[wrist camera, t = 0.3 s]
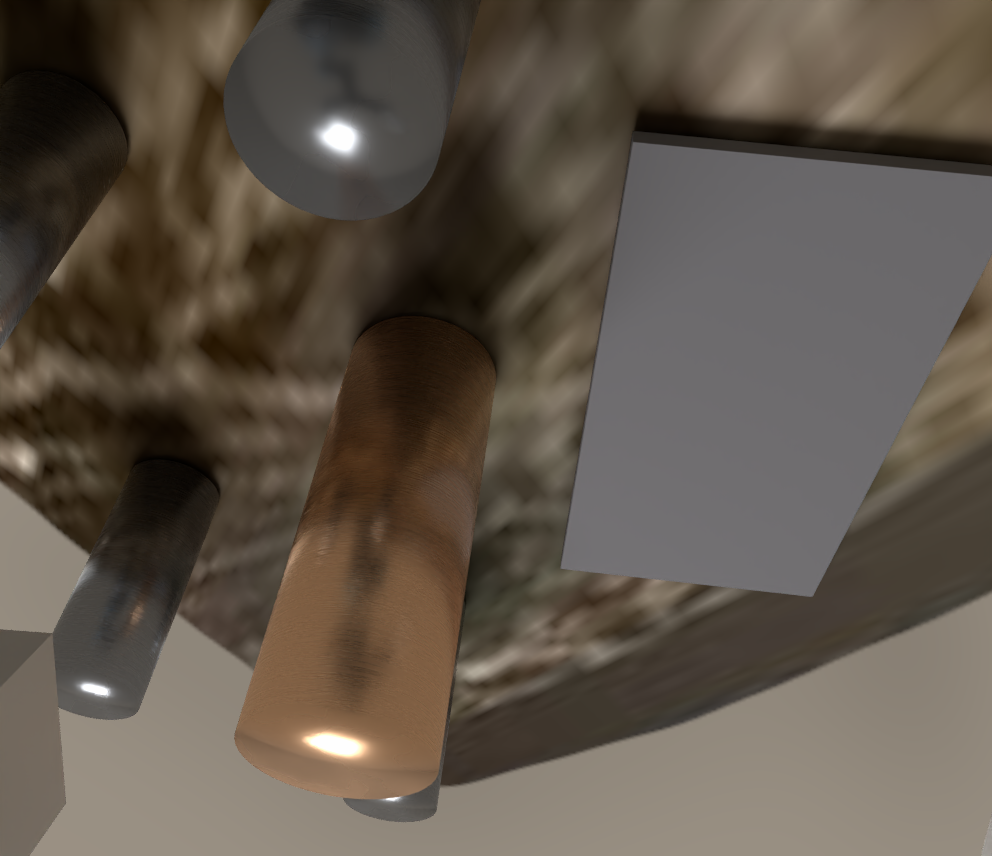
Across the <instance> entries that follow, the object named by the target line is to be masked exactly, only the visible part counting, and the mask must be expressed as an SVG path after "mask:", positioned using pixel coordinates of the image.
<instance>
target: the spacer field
mask: <svg viewBox="0 0 992 856" xmlns="http://www.w3.org/2000/svg"><path fill="white" fill-rule="evenodd" d="M480 2H481V0H272V1H271V3H270V4H269V6H268V7H267V9H266V10H265V12H264V14H263V15H262V17H261V18H260V20H259V22H258V23H257V25H256V26H255V28H254V30H253V31H252V33H251V34H250V36H249V37H248V39H247V41H246V42H245V44H244V45H243V47H242V49H241V50H240V52H239V53H238V55H237V57H236V58H235V60H234V62H233V64H232V66H231V68H230V71H229V73H228V76H227V79H226V84H225V90H224V112H225V119H226V123H227V128H228V131H229V134H230V137H231V139H232V142H233V144H234V146H235V148H236V150H237V152H238V154H239V156H240V157H241V158H242V160H243V161H244V163H245V164H246V166H247V167H248V168H249V170H250V171H251V172H252V173H253V174H254V176H255V177H256V178H257V179H258V180H259V181H260V182H261V183H262V184H263V185H264V186H265V187H267V188H268V189H269V190H270V191H272V192H273V193H274V194H276V195H277V196H278V197H280V198H281V199H283V200H285V201H286V202H288V203H289V204H291V205H293V206H295V207H297V208H299V209H301V210H304V211H307V212H309V213H312V214H315V215H318V216H322V217H326V218H332V219H338V220H366V219H371V218H377V217H380V216H383V215H386V214H390V213H392V212H394V211H396V210H398V209H400V208H402V207H403V206H405V205H406V204H408V203H409V202H411V201H412V200H413V199H414V198H415V197H416V196H417V195H418V194H419V193H420V192H421V191H422V190H423V188H424V187H425V186H426V185H427V183H428V181H429V180H430V178H431V176H432V175H433V172H434V170H435V167H436V165H437V162H438V158H439V155H440V151H441V147H442V143H443V140H444V136H445V132H446V128H447V125H448V121H449V117H450V114H451V110H452V106H453V102H454V99H455V95H456V91H457V87H458V84H459V80H460V76H461V73H462V69H463V65H464V61H465V58H466V54H467V50H468V46H469V43H470V39H471V35H472V32H473V28H474V24H475V20H476V17H477V13H478V9H479V5H480ZM127 154H128V150H127V141H126V137H125V134H124V131H123V129H122V127H121V124H120V122H119V121H118V119H117V117H116V116H115V114H114V113H113V112H112V110H111V109H110V108H109V107H108V105H107V104H106V103H105V102H104V101H103V100H102V99H101V98H100V97H99V96H98V95H96V94H95V93H94V92H93V91H91V90H90V89H89V88H87V87H86V86H84V85H83V84H81V83H79V82H77V81H75V80H73V79H71V78H69V77H67V76H64V75H61V74H58V73H54V72H49V71H37V70H35V71H27V72H23V73H20V74H17V75H15V76H13V77H12V78H10V79H9V80H8V81H7V82H6V83H5V84H4V85H3V86H2V87H1V88H0V349H1V347H2V346H3V344H4V343H5V341H6V340H7V339H8V337H9V336H10V334H11V333H12V331H13V330H14V328H15V327H16V325H17V324H18V323H19V321H20V320H21V318H22V317H23V315H24V314H25V312H26V311H27V309H28V308H29V307H30V305H31V304H32V302H33V301H34V299H35V298H36V296H37V295H38V293H39V292H40V290H41V289H42V288H43V286H44V285H45V283H46V282H47V280H48V279H49V277H50V276H51V274H52V273H53V272H54V270H55V269H56V267H57V266H58V264H59V263H60V261H61V260H62V258H63V257H64V255H65V254H66V253H67V251H68V250H69V248H70V247H71V245H72V244H73V242H74V241H75V239H76V238H77V237H78V235H79V234H80V232H81V231H82V229H83V228H84V226H85V225H86V223H87V222H88V221H89V219H90V218H91V216H92V215H93V213H94V212H95V210H96V209H97V207H98V206H99V204H100V203H101V202H102V200H103V199H104V197H105V196H106V194H107V193H108V191H109V190H110V188H111V187H112V186H113V184H114V183H115V181H116V180H117V178H118V177H119V175H120V174H121V172H122V171H123V169H124V167H125V164H126V161H127ZM218 503H219V494H218V491H217V489H216V487H215V486H214V484H213V483H212V482H211V481H210V480H209V479H208V478H207V477H206V476H205V475H203V474H202V473H201V472H199V471H197V470H196V469H194V468H192V467H190V466H187V465H185V464H182V463H179V462H175V461H170V460H162V459H153V460H147V461H143V462H141V463H139V464H137V465H136V466H134V467H133V469H132V470H131V472H130V474H129V476H128V478H127V480H126V482H125V484H124V486H123V488H122V490H121V493H120V495H119V497H118V499H117V501H116V503H115V505H114V507H113V509H112V511H111V513H110V515H109V517H108V519H107V522H106V524H105V526H104V528H103V530H102V532H101V534H100V536H99V538H98V540H97V542H96V544H95V546H94V549H93V551H92V553H91V555H90V557H89V559H88V561H87V563H86V565H85V568H84V569H83V571H82V573H81V576H80V578H79V580H78V582H77V584H76V586H75V588H74V590H73V592H72V594H71V596H70V598H69V600H68V603H67V605H66V607H65V609H64V611H63V613H62V615H61V617H60V619H59V621H58V623H57V625H56V628H55V629H54V632H53V647H54V659H55V672H56V684H57V697H58V707H59V708H61V709H64V710H66V711H69V712H72V713H75V714H78V715H82V716H85V717H90V718H96V719H105V720H117V719H124V718H128V717H131V716H133V715H135V714H136V713H137V712H138V710H139V708H140V705H141V703H142V700H143V697H144V695H145V692H146V690H147V687H148V684H149V682H150V679H151V677H152V674H153V671H154V669H155V666H156V664H157V661H158V659H159V656H160V653H161V651H162V648H163V645H164V643H165V640H166V638H167V635H168V632H169V630H170V627H171V625H172V622H173V620H174V617H175V615H176V612H177V609H178V607H179V604H180V602H181V599H182V596H183V594H184V591H185V589H186V586H187V584H188V581H189V578H190V576H191V573H192V571H193V568H194V565H195V563H196V560H197V558H198V555H199V552H200V550H201V547H202V545H203V542H204V540H205V537H206V534H207V532H208V529H209V527H210V524H211V521H212V519H213V516H214V514H215V511H216V508H217V506H218ZM465 608H466V605H465V601H464V602H463V609H462V616H461V623H460V629H459V636H458V643H457V650H456V657H455V664H454V670H453V677H452V684H451V691H450V698H449V704H448V711H447V718H446V725H445V732H444V739H443V745H442V752H441V759H440V766H439V772H438V776H437V778H436V779H435V781H434V782H433V783H432V784H431V785H429V786H428V787H427V788H425V789H423V790H421V791H419V792H416V793H413V794H410V795H406V796H402V797H396V798H388V799H352V798H343V799H344V801H345V802H346V804H347V805H348V806H350V807H351V808H352V809H354V810H356V811H358V812H360V813H362V814H364V815H367V816H370V817H373V818H377V819H381V820H387V821H395V822H414V821H420V820H424V819H427V818H429V817H431V816H433V815H434V814H435V812H436V810H437V803H438V795H439V789H440V782H441V775H442V768H443V761H444V754H445V747H446V740H447V733H448V726H449V719H450V712H451V705H452V698H453V692H454V685H455V678H456V671H457V664H458V657H459V650H460V643H461V636H462V629H463V622H464V615H465Z"/></svg>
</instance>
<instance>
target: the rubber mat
mask: <svg viewBox="0 0 992 856" xmlns="http://www.w3.org/2000/svg"><path fill="white" fill-rule="evenodd" d="M991 255H992V165H983V164H973V163H962V162H952V161H942V160H931V159H921V158H910V157H900V156H889V155H879V154H868V153H858V152H847V151H837V150H827V149H816V148H806V147H795V146H785V145H774V144H764V143H753V142H743V141H732V140H722V139H712V138H701V137H691V136H680V135H670V134H659V133H649V132H638V131H633V134H632V140H631V146H630V152H629V158H628V164H627V170H626V176H625V182H624V188H623V193H622V199H621V205H620V211H619V217H618V223H617V229H616V235H615V241H614V247H613V253H612V259H611V265H610V271H609V277H608V283H607V289H606V295H605V301H604V307H603V312H602V318H601V324H600V330H599V336H598V342H597V348H596V354H595V360H594V366H593V372H592V378H591V384H590V390H589V396H588V402H587V408H586V414H585V420H584V426H583V431H582V437H581V443H580V449H579V455H578V461H577V467H576V473H575V479H574V485H573V491H572V497H571V503H570V509H569V515H568V521H567V527H566V533H565V539H564V545H563V550H562V556H561V569H568V570H577V571H586V572H595V573H604V574H613V575H622V576H631V577H640V578H649V579H658V580H667V581H676V582H685V583H694V584H703V585H711V586H720V587H729V588H738V589H747V590H756V591H765V592H774V593H783V594H792V595H801V596H810V597H812V596H813V594H814V592H815V590H816V589H817V587H818V585H819V583H820V581H821V579H822V577H823V575H824V573H825V571H826V570H827V568H828V566H829V564H830V562H831V560H832V558H833V556H834V554H835V552H836V550H837V549H838V547H839V545H840V543H841V541H842V539H843V537H844V535H845V533H846V531H847V529H848V528H849V526H850V524H851V522H852V520H853V518H854V516H855V514H856V512H857V510H858V509H859V507H860V505H861V503H862V501H863V499H864V497H865V495H866V493H867V491H868V489H869V488H870V486H871V484H872V482H873V480H874V478H875V476H876V474H877V472H878V470H879V468H880V467H881V465H882V463H883V461H884V459H885V457H886V455H887V453H888V451H889V449H890V448H891V446H892V444H893V442H894V440H895V438H896V436H897V434H898V432H899V430H900V428H901V427H902V425H903V423H904V421H905V419H906V417H907V415H908V413H909V411H910V409H911V407H912V406H913V404H914V402H915V400H916V398H917V396H918V394H919V392H920V390H921V388H922V387H923V385H924V383H925V381H926V379H927V377H928V375H929V373H930V371H931V369H932V367H933V366H934V364H935V362H936V360H937V358H938V356H939V354H940V352H941V350H942V348H943V346H944V345H945V343H946V341H947V339H948V337H949V335H950V333H951V331H952V329H953V327H954V326H955V324H956V322H957V320H958V318H959V316H960V314H961V312H962V310H963V308H964V306H965V305H966V303H967V301H968V299H969V297H970V295H971V293H972V291H973V289H974V287H975V285H976V284H977V282H978V280H979V278H980V276H981V274H982V272H983V270H984V268H985V266H986V265H987V263H988V261H989V259H990V257H991Z"/></svg>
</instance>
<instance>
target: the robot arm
mask: <svg viewBox="0 0 992 856" xmlns="http://www.w3.org/2000/svg"><path fill="white" fill-rule="evenodd" d="M58 710H59V709H58V697H57V684H56V672H55V659H54V647H53V634H52V633H41V632H27V631H13V630H0V856H30V854H31V853H32V851H33V850H34V848H35V847H36V845H37V844H38V843H39V841H40V840H41V838H42V837H43V836H44V834H45V833H46V831H47V830H48V828H49V827H50V825H51V824H52V822H53V821H54V820H55V818H56V817H57V815H58V814H59V813H60V811H61V810H62V808H63V807H64V805H65V804H66V797H65V785H64V772H63V760H62V747H61V735H60V722H59V711H58ZM981 856H992V815H991V819H990V822H989V826H988V830H987V834H986V838H985V842H984V845H983V849H982V853H981Z"/></svg>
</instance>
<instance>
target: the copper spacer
mask: <svg viewBox="0 0 992 856" xmlns="http://www.w3.org/2000/svg"><path fill="white" fill-rule="evenodd" d="M495 384H496V372H495V367H494V364H493V361H492V359H491V357H490V355H489V354H488V352H487V351H486V349H485V348H484V347H483V345H482V344H481V343H480V342H479V341H478V340H477V339H475V338H474V337H473V336H472V335H470V334H469V333H468V332H466V331H464V330H463V329H461V328H459V327H457V326H455V325H453V324H451V323H448V322H445V321H442V320H438V319H435V318H429V317H423V316H402V317H396V318H391V319H388V320H384V321H382V322H380V323H377V324H375V325H374V326H372V327H370V328H369V329H368V330H366V331H365V332H364V333H363V334H362V335H361V336H360V337H359V338H358V340H357V341H356V343H355V345H354V347H353V350H352V353H351V356H350V359H349V362H348V366H347V369H346V372H345V375H344V379H343V382H342V385H341V388H340V392H339V395H338V398H337V402H336V405H335V408H334V411H333V415H332V418H331V421H330V424H329V428H328V431H327V434H326V437H325V441H324V444H323V447H322V450H321V454H320V457H319V460H318V464H317V467H316V470H315V473H314V477H313V480H312V483H311V486H310V490H309V493H308V496H307V499H306V503H305V506H304V509H303V512H302V516H301V519H300V522H299V526H298V529H297V532H296V535H295V539H294V542H293V545H292V548H291V552H290V555H289V558H288V561H287V565H286V568H285V571H284V574H283V578H282V581H281V584H280V588H279V591H278V594H277V597H276V601H275V604H274V607H273V610H272V614H271V617H270V620H269V623H268V627H267V630H266V633H265V636H264V640H263V643H262V646H261V650H260V653H259V656H258V659H257V663H256V666H255V669H254V672H253V676H252V679H251V682H250V685H249V689H248V692H247V695H246V699H245V702H244V705H243V708H242V712H241V715H240V718H239V721H238V725H237V728H236V731H235V737H234V739H235V744H236V746H237V748H238V750H239V752H240V753H241V754H242V756H243V757H244V758H245V759H246V760H247V761H248V762H249V763H251V764H252V765H253V766H255V767H256V768H257V769H259V770H260V771H262V772H264V773H265V774H267V775H269V776H271V777H273V778H275V779H277V780H280V781H282V782H284V783H287V784H289V785H292V786H295V787H298V788H301V789H305V790H308V791H312V792H316V793H320V794H325V795H330V796H336V797H343V798H352V799H388V798H396V797H402V796H406V795H410V794H413V793H416V792H419V791H421V790H423V789H425V788H427V787H428V786H429V785H431V784H432V783H433V782H434V781H435V779H436V778H437V776H438V772H439V766H440V759H441V752H442V745H443V739H444V732H445V725H446V718H447V711H448V704H449V698H450V691H451V684H452V677H453V670H454V664H455V657H456V650H457V643H458V636H459V629H460V623H461V616H462V609H463V602H464V595H465V589H466V582H467V575H468V568H469V561H470V554H471V548H472V541H473V534H474V527H475V520H476V514H477V507H478V500H479V493H480V486H481V479H482V473H483V466H484V459H485V452H486V445H487V439H488V432H489V425H490V418H491V411H492V404H493V398H494V391H495Z"/></svg>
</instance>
